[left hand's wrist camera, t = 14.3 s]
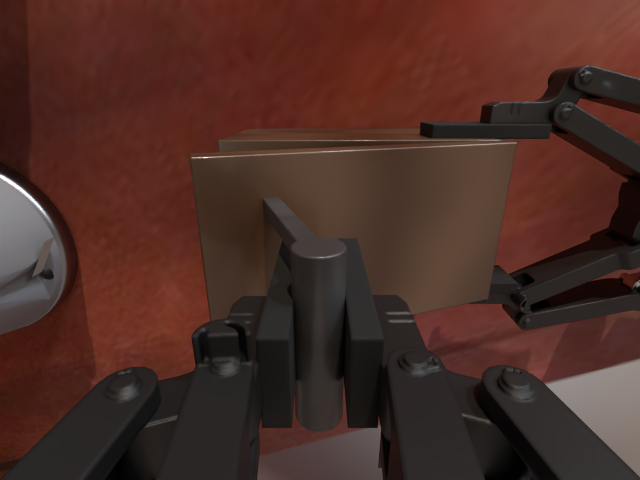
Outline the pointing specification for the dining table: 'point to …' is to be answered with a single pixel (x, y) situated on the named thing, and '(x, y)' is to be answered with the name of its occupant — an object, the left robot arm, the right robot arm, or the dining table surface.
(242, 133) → the chest
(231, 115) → the dining table surface
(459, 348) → the dining table surface
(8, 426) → the dining table surface
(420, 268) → the lid
